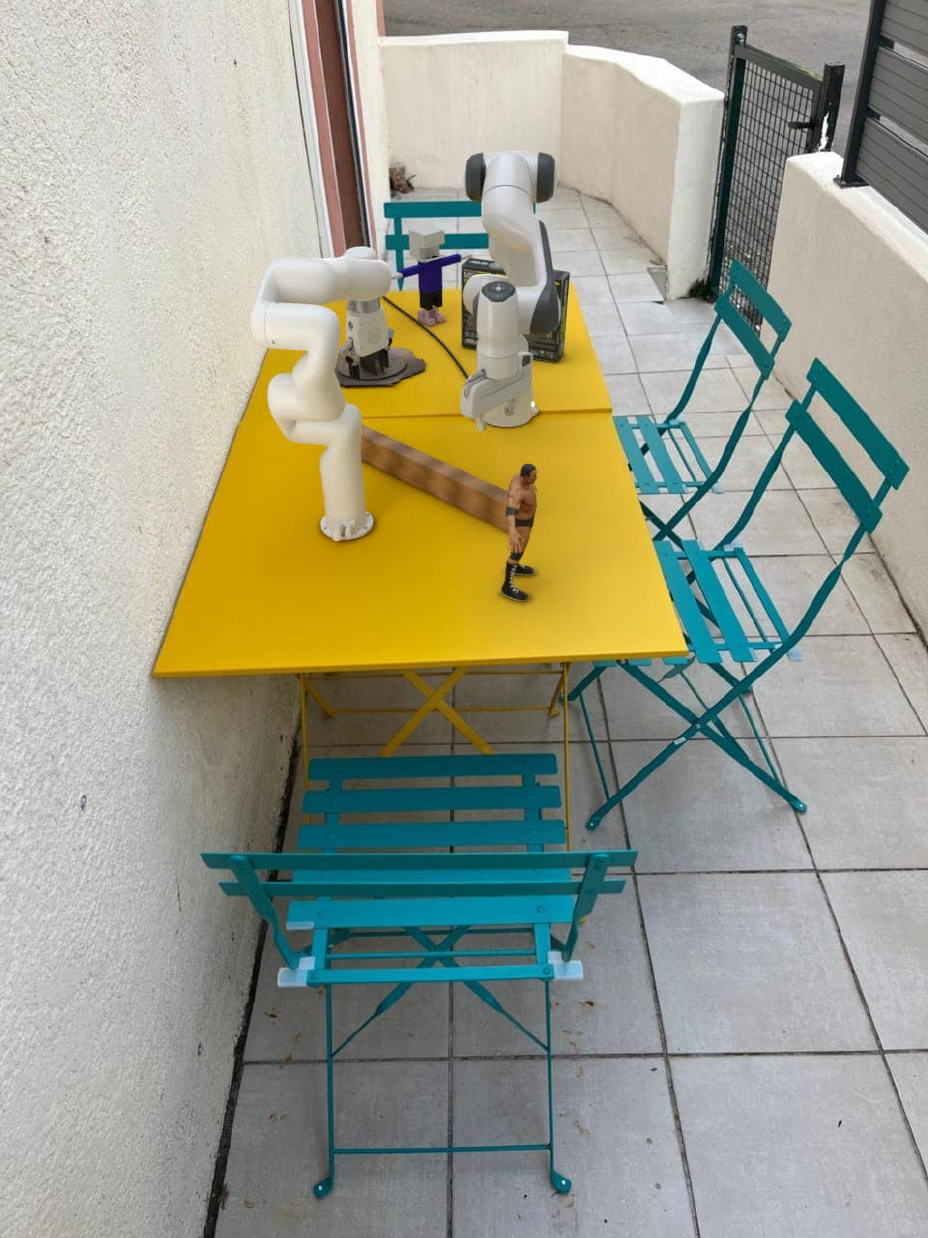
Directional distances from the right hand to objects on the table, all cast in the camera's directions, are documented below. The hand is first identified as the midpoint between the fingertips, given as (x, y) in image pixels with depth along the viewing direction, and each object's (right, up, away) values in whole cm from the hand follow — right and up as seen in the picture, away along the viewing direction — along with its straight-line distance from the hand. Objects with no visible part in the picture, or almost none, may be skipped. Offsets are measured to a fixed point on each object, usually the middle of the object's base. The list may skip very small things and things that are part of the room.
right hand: (495, 421), depth 197 cm
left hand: (-31, +17, +22) cm, 41 cm away
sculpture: (-37, +35, +81) cm, 96 cm away
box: (+9, +43, +91) cm, 101 cm away
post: (-15, -11, +27) cm, 33 cm away
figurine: (+5, -36, -3) cm, 37 cm away
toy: (-19, +60, +111) cm, 127 cm away
